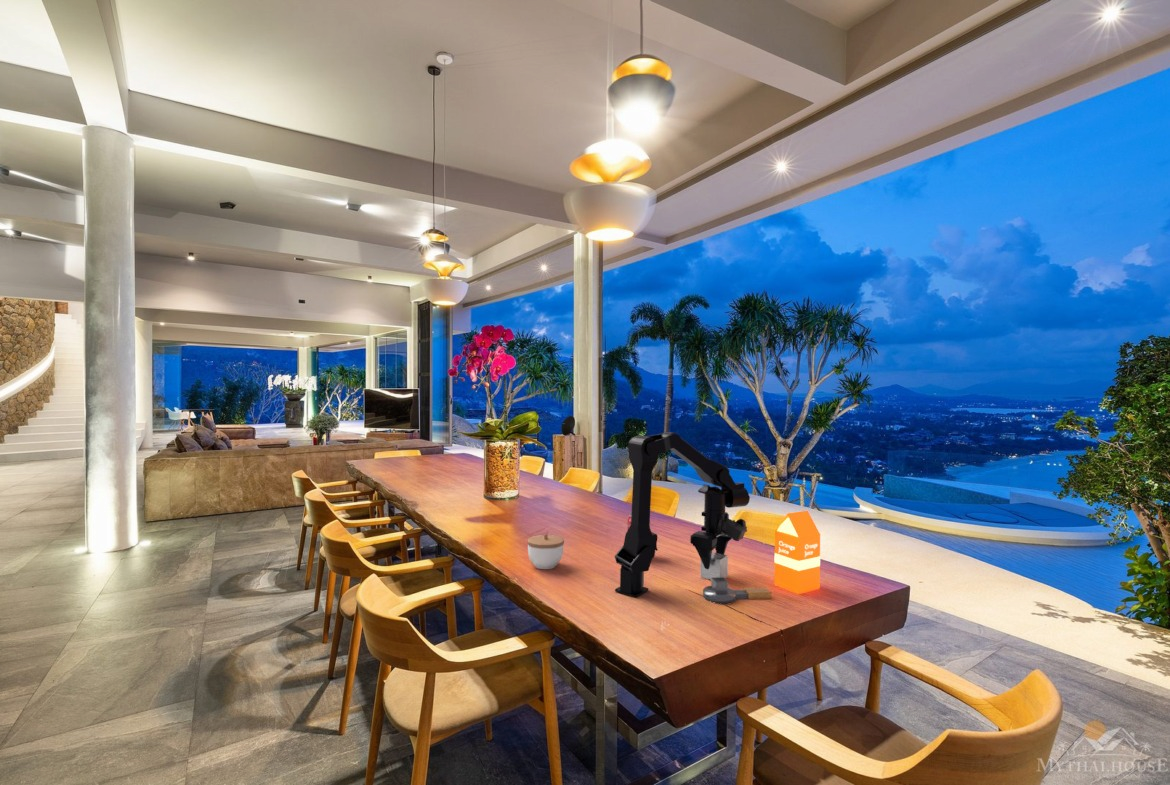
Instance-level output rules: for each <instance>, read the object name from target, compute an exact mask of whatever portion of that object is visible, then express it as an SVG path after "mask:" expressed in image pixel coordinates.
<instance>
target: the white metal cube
mask: <svg viewBox="0 0 1170 785" xmlns="http://www.w3.org/2000/svg"><path fill="white" fill-rule="evenodd" d="M728 557H729V556H728V554H719V553H716V552H714V551H712V555H711V561H710V567H709V569H705V567H704V565H703V563H702V560H701V559H700V577H702V578H701V579H704V578H706V579H705V580H708V579H710V580H709V581H712V578H717V577H723V578H724V579H725V580H726V578H728V569H729V568H728V566H729V565H728V564H729V560H728V559H729V558H728Z"/></svg>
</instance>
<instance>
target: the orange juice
mask: <svg viewBox="0 0 1170 785" xmlns="http://www.w3.org/2000/svg"><path fill="white" fill-rule="evenodd" d="M820 567H821V533H820V531H819V529H818V528H817V526H816V523H815V521H814V520H813V518H812V516H811V514H810V513H809V510H802V511H795V512H788V513H786V514H785V516H784V517H783V519H782V520H781V522H780V523H779V524H778V526H777V527H776V529H775V531H774V576H773V577H774V585H775V586H776V587H780V588H781V589H783V590H786V591H789V592H791V593H794V594H797V595H800V594H805V593H808V592H813V591H815V590H819V589H820V586H821V585H820V584H821V583H820V582H821V581H820V580H821V576H820V575H821V574H820V573H821V568H820Z"/></svg>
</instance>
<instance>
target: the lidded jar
mask: <svg viewBox="0 0 1170 785" xmlns="http://www.w3.org/2000/svg"><path fill="white" fill-rule="evenodd" d="M564 544H565V540H564V538H563V537H561V536H558V535H555V534H548V533H544V534H537V535H533V536H531V537H529V538H527V554H528V558H529V561H530V562H531V563H532V564H533V565H534V568H536V569H539V570H552V569H555V568H556V566H557V565H558V564H559V563H560V561H561V559H562V557H563V554H564Z"/></svg>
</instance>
